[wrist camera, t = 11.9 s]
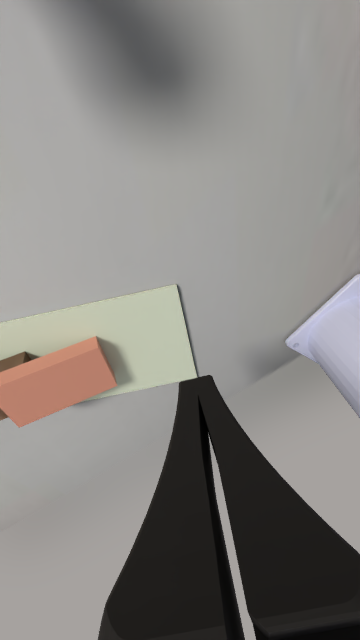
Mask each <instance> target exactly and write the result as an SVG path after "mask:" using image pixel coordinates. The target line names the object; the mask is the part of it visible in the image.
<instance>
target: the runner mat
mask: <svg viewBox="0 0 360 640" xmlns="http://www.w3.org/2000/svg"><path fill="white" fill-rule="evenodd" d="M95 336H96V337H97V339H98V341H99V343H100V345H101V348H102V350H103V352H104V354H105V356H106V358H107V360H108V362H109V364H110V366H111V368H112V370H113V372H114V374H115V378H116V382H117V386H116V387H113V388H111V389H109V390H106V391H104V392H102V393H99V394H97V395H95V396H92V397H90V398H88V399H85V400H83V401H81V402H84V401H88V400H93V399H98V398H103V397H107V396H112V395H117V394H122V393H127V392H131V391H136V390H141V389H146V388H150V387H155V386H160V385H165V384H170V383H174V382H179V381H184V380H189V379H193V378H197V375H196V370H195V366H194V361H193V357H192V352H191V348H190V343H189V339H188V334H187V330H186V325H185V321H184V316H183V312H182V307H181V303H180V298H179V294H178V289H177V285H176V284H175V285H170V286H166V287H161V288H157V289H152V290H147V291H143V292H138V293H134V294H129V295H125V296H120V297H116V298H111V299H106V300H102V301H97V302H93V303H88V304H84V305H79V306H74V307H70V308H65V309H61V310H56V311H52V312H47V313H43V314H38V315H33V316H29V317H24V318H20V319H15V320H11V321H6V322H1V323H0V360H3V359H6V358H8V357H11V356H14V355H16V354H19V353H22V352H26V353H27V354H28V356H29V357H30V358H31V360H34V359H37V358H39V357H42V356H45V355H47V354H50V353H52V352H55V351H58V350H60V349H63V348H66V347H68V346H71V345H74V344H76V343H79V342H81V341H84V340H87V339H89V338H92V337H95ZM78 403H79V402H78Z"/></svg>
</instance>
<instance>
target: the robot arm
mask: <svg viewBox="0 0 360 640" xmlns="http://www.w3.org/2000/svg"><path fill="white" fill-rule="evenodd" d="M285 343H286V345H287V346H288V347H290V348H291V349H293V350H295V351H297V352H298V353H300V354H302V355H304V356H306V357H307V358H309V359H311V360H313V361H314V362H316V363H318V364H319V365H320V366H321V367H322V369H323V370H324V371H325V373H326V374H327V375H328V377H329V378H330V379H331V381H332V382H333V383H334V385H335V386H336V387H337V389H338V390H339V391H340V392H341V394H342V395H343V397H344V398H345V399H346V400H347V402H348V403H349V404H350V406H351V407H352V409H353V410H354V411H355V412H356V414H357V415H358V416H359V418H360V274H358V275H356V276H354V277H353V278H352V279H351V280H350V281H349V282H348V283H347V284H346V285H345V286H344V287H342V288H341V289H340V290H339V291H338V292H337V293H336V294H335V295H334V296H333V297H332V298H331V299H329V300H328V301H327V302H326V303H325V304H324V305H323V306H322V307H321V308H320V309H319V310H318V311H316V312H315V313H314V314H313V315H312V316H311V317H310V318H309V319H308V320H307V321H306V322H305V323H303V324H302V325H301V326H300V327H299V328H298V329H297V330H296V331H295V332H294V333H293V334H292V335H290V336H289V337H288V338H287V339H286V341H285ZM294 344H295V345H294ZM208 433H209V436H210V439H211V443H212V446H213V450H214V453H215V456H216V460H217V463H218V467H219V471H220V476H221V481H222V486H223V490H224V495H225V501H226V505H227V510H228V515H229V520H230V525H231V530H232V534H233V540H234V545H235V550H236V555H237V560H238V565H239V570H240V575H241V580H242V585H243V590H244V595H245V599H246V605H247V610H248V613H249V616H250V618H251V620H252V623H253V627H254V631H255V636H256V640H360V554H359V553H358V552H357V551H356V550H355V549H354V548H353V547H352V546H351V545H349V544H348V543H347V542H346V541H345V540H344V539H343V538H342V537H341V536H340V535H339V534H337V532H336V531H334V530H333V529H332V528H331V527H330V526H329V525H328V524H327V523H326V522H325V521H324V520H323V519H322V518H321V517H320V516H319V515H318V514H317V513H316V512H315V511H314V510H313V509H312V508H311V507H310V506H309V505H308V504H307V503H306V502H305V501H304V500H303V499H302V498H301V497H300V496H299V495H298V494H297V493H296V492H295V491H294V489H293V488H292V487H291V486H290V485H289V484H288V483H287V482H286V481H285V480H284V479H283V478H282V477H281V476H280V475H279V473H278V472H277V471H276V470H275V469H274V468H273V466H272V465H271V464H270V463H269V462H268V461H267V460H266V458H265V457H264V456H263V455H262V453H261V452H260V451H259V450H258V449H257V447H256V446H255V445H254V444H253V442H252V441H251V440H250V438H249V437H248V436H247V434H246V433H245V432H244V430H243V429H242V428H241V426H240V425H239V424H238V422H237V421H236V419H235V417H234V416H233V414H232V413H231V411H230V410H229V408H228V407H227V405H226V403H225V402H224V400H223V398H222V396H221V395H220V393H219V391H218V389H217V387H216V385H215V382H214V380H213V377H212V376H211V375H207V376H202V377H198V378H193V379H189V380H184V381H181V382H180V383H179V395H178V404H177V411H176V416H175V422H174V427H173V432H172V436H171V440H170V444H169V448H168V452H167V456H166V459H165V462H164V466H163V469H162V472H161V475H160V478H159V481H158V485H157V487H156V490H155V493H154V496H153V498H152V501H151V504H150V506H149V509H148V512H147V514H146V517H145V519H144V522H143V524H142V526H141V529H140V531H139V533H138V536H137V538H136V540H135V543H134V545H133V548H132V549H131V552H130V554H129V556H128V558H127V560H126V562H125V565H124V567H123V569H122V571H121V573H120V575H119V577H118V579H117V581H116V583H115V585H114V587H113V589H112V591H111V593H110V595H109V597H108V600H107V602H106V605H105V608H104V613H103V617H102V621H101V626H100V631H99V637H98V640H245V638H244V633H243V628H242V623H241V618H240V613H239V609H238V604H237V599H236V594H235V589H234V584H233V579H232V575H231V570H230V565H229V560H228V555H227V550H226V545H225V540H224V535H223V530H222V525H221V520H220V515H219V510H218V505H217V500H216V493H215V487H214V478H213V470H212V462H211V453H210V444H209V436H208Z"/></svg>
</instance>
